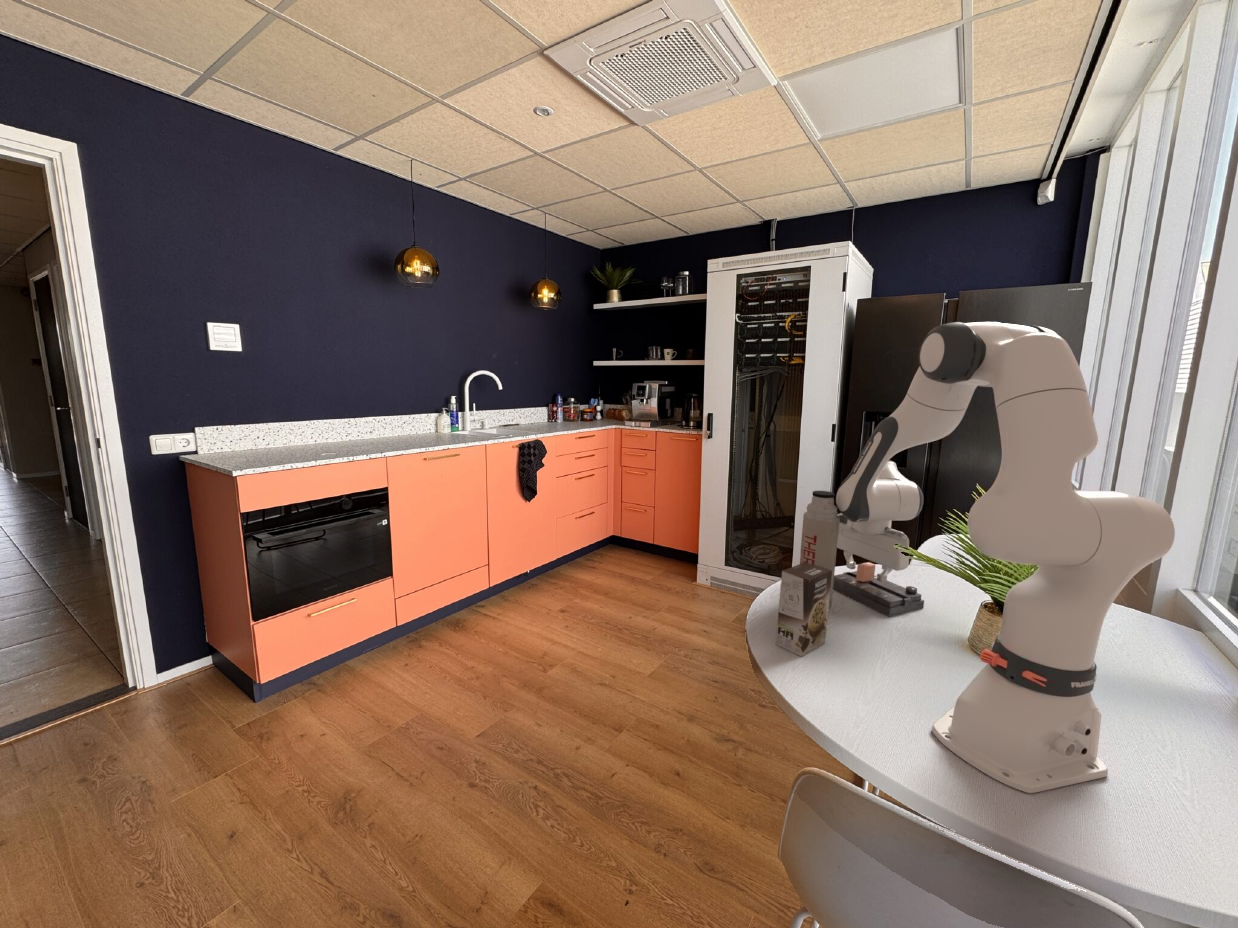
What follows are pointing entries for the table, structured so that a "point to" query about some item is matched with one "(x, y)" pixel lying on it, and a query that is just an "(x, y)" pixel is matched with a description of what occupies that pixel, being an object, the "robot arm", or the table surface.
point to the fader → (865, 572)
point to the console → (879, 594)
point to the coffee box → (803, 608)
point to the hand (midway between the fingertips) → (865, 574)
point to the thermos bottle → (820, 533)
